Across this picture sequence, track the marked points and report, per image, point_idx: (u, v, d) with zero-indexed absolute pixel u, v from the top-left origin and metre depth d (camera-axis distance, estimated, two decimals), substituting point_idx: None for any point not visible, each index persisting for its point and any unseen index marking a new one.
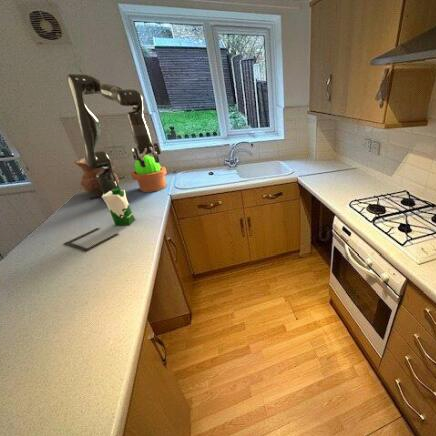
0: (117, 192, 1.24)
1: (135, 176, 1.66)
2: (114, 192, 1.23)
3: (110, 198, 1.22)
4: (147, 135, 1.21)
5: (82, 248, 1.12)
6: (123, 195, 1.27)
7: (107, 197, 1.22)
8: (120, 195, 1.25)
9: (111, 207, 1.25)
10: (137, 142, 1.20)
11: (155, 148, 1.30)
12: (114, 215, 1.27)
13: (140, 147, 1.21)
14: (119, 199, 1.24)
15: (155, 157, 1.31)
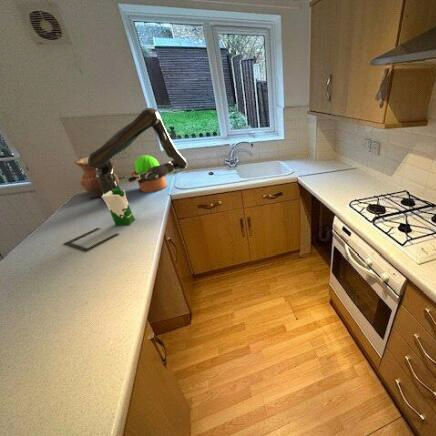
0: (117, 192, 1.24)
1: None
2: (114, 192, 1.23)
3: (110, 198, 1.22)
4: None
5: (82, 248, 1.12)
6: (123, 195, 1.27)
7: (107, 197, 1.22)
8: (120, 195, 1.25)
9: (111, 207, 1.25)
10: (157, 175, 1.43)
11: None
12: (114, 215, 1.27)
13: None
14: (119, 199, 1.24)
15: (134, 178, 1.39)
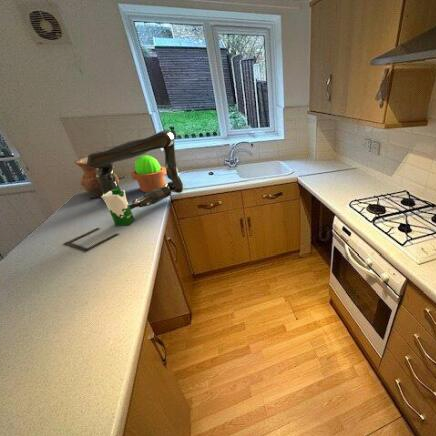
0: (117, 192, 1.24)
1: (135, 176, 1.66)
2: (114, 192, 1.23)
3: (110, 198, 1.22)
4: None
5: (82, 248, 1.12)
6: (123, 195, 1.27)
7: (107, 197, 1.22)
8: (120, 195, 1.25)
9: (111, 207, 1.24)
10: (154, 200, 1.44)
11: None
12: (114, 215, 1.27)
13: None
14: (119, 199, 1.24)
15: None
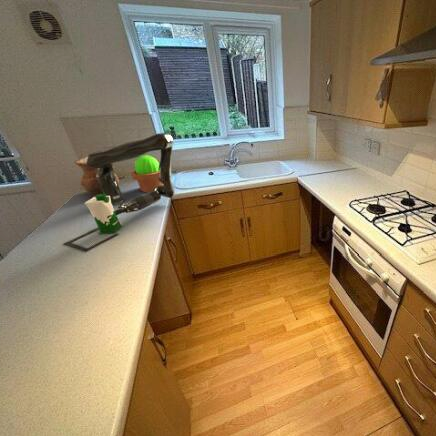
0: (101, 198, 1.17)
1: (135, 176, 1.66)
2: (98, 198, 1.17)
3: (94, 205, 1.16)
4: None
5: (82, 248, 1.12)
6: (108, 201, 1.21)
7: (91, 204, 1.16)
8: (105, 201, 1.19)
9: (95, 214, 1.18)
10: (142, 205, 1.38)
11: None
12: (99, 222, 1.20)
13: None
14: (104, 205, 1.18)
15: None
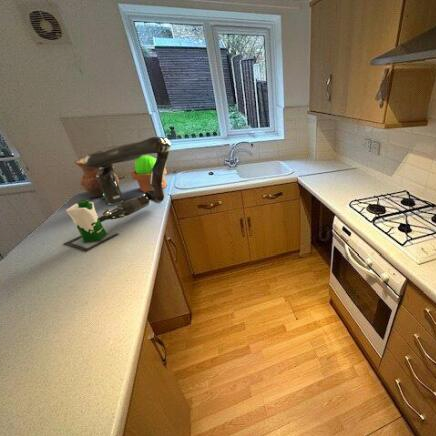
0: (84, 205, 1.11)
1: (135, 176, 1.66)
2: (81, 205, 1.10)
3: (76, 212, 1.09)
4: None
5: (82, 248, 1.12)
6: (92, 207, 1.14)
7: (72, 211, 1.09)
8: (88, 208, 1.12)
9: (78, 222, 1.11)
10: (128, 211, 1.31)
11: None
12: (82, 230, 1.14)
13: None
14: (87, 212, 1.11)
15: None
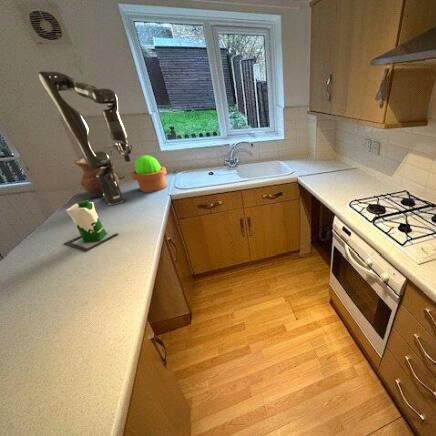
0: (84, 205, 1.11)
1: (135, 176, 1.66)
2: (81, 205, 1.10)
3: (76, 212, 1.09)
4: None
5: (82, 248, 1.12)
6: (92, 207, 1.15)
7: (73, 211, 1.09)
8: (88, 208, 1.12)
9: (78, 222, 1.11)
10: (124, 136, 1.31)
11: None
12: (82, 230, 1.14)
13: None
14: (87, 212, 1.11)
15: None
